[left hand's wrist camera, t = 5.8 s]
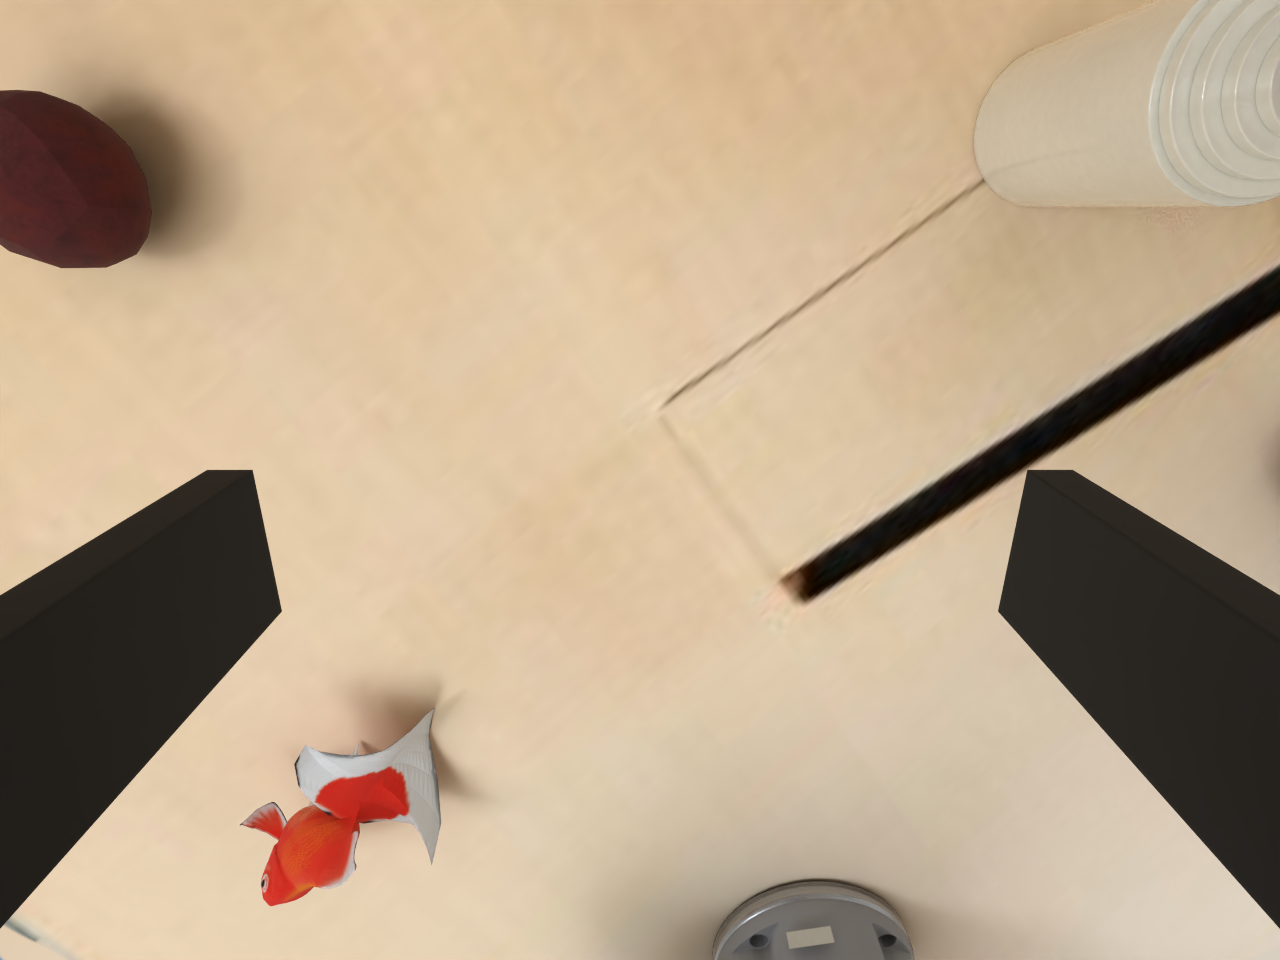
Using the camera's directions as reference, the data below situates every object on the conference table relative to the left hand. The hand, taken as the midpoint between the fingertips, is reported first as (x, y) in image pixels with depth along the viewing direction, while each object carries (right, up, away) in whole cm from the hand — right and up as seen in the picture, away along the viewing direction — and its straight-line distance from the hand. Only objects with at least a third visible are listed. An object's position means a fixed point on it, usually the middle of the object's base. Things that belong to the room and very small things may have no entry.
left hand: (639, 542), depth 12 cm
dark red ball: (-27, +16, +24) cm, 39 cm away
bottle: (+20, +19, +23) cm, 36 cm away
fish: (-19, -18, +37) cm, 45 cm away
